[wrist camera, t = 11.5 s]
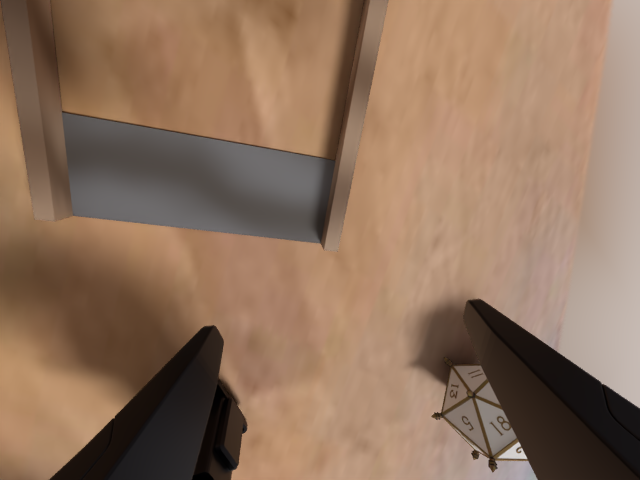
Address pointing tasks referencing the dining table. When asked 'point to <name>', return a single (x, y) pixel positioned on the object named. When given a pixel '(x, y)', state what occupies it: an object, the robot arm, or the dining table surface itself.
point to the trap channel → (177, 154)
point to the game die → (478, 415)
